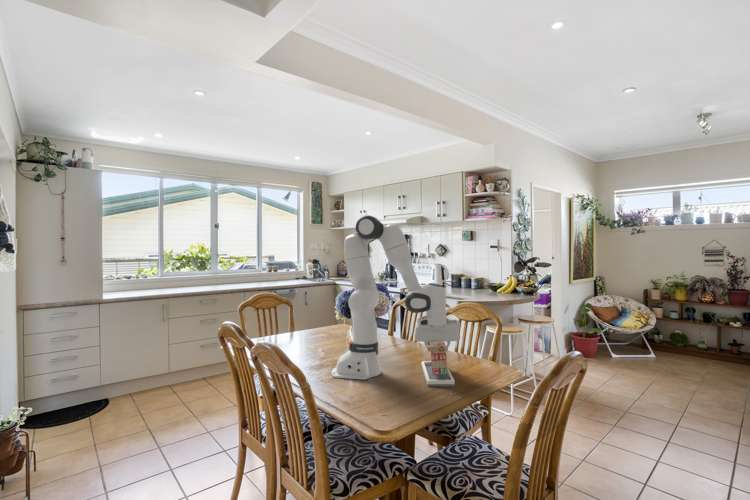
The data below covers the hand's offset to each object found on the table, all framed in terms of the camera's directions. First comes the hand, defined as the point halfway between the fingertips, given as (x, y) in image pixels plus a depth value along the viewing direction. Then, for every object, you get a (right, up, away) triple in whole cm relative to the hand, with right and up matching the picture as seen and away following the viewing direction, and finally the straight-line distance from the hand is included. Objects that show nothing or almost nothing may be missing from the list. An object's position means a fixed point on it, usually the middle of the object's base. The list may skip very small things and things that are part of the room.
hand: (437, 351), depth 164 cm
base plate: (0, -11, 0) cm, 11 cm away
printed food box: (+1, -7, 0) cm, 7 cm away
